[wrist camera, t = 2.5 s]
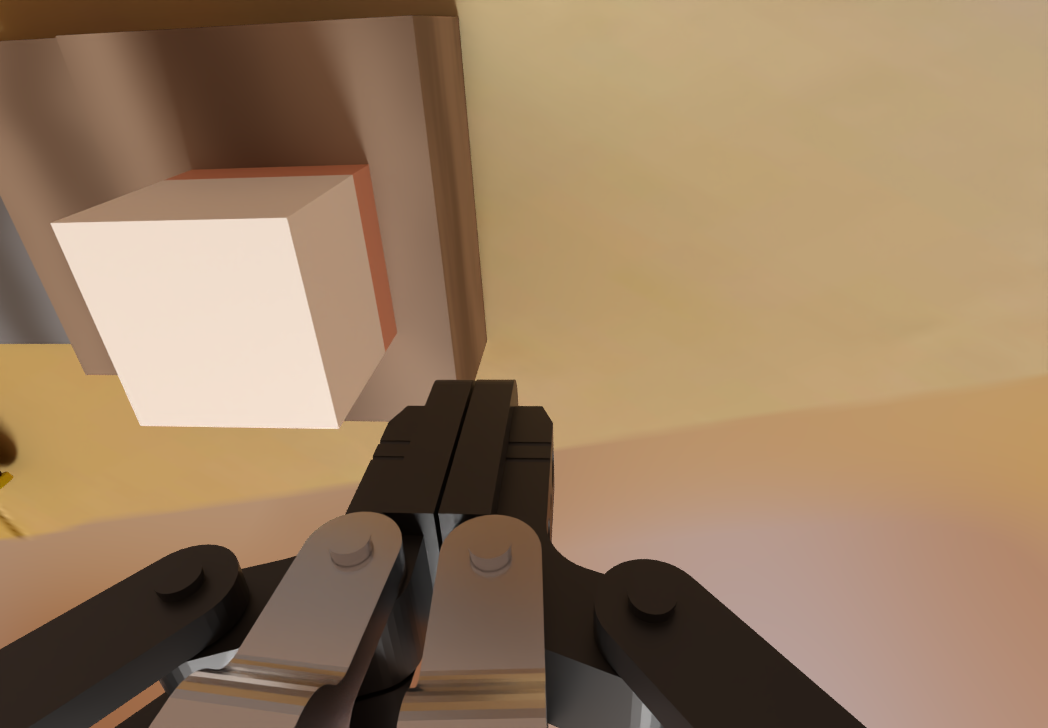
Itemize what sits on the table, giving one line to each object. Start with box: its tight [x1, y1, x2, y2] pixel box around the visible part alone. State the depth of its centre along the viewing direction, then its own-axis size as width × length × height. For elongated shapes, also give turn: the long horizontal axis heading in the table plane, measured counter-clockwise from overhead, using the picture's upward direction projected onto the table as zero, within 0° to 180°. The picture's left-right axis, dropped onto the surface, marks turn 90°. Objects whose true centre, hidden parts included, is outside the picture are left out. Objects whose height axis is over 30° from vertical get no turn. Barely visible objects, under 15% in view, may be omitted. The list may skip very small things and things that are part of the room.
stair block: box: [0, 15, 487, 422], centre depth 25 cm, size 28×14×7 cm, turn 93°
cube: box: [50, 164, 397, 429], centre depth 18 cm, size 6×6×6 cm
